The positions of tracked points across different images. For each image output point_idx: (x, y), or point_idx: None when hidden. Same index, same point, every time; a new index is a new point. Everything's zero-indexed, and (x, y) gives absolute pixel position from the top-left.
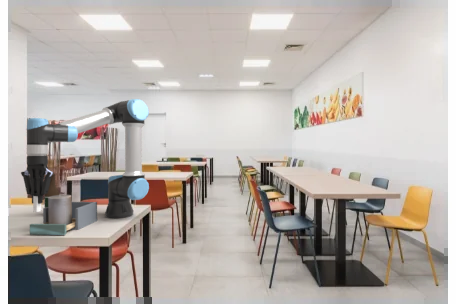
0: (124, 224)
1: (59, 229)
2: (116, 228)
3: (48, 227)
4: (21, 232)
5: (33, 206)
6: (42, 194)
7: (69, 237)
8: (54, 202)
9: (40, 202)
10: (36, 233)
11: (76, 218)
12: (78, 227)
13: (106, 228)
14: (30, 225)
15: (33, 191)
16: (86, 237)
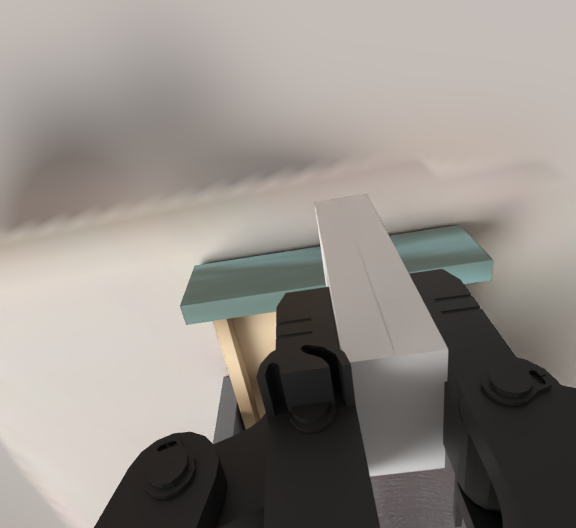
0: (53, 495)
1: (229, 279)
2: (21, 436)
3: (319, 273)
4: (570, 266)
5: (383, 229)
6: (179, 434)
7: (128, 237)
8: (380, 521)
9: (278, 306)
10: (408, 235)
11: (224, 437)
12: (223, 391)
13: (79, 427)
14: (481, 256)
15: (519, 485)
16: (13, 260)
